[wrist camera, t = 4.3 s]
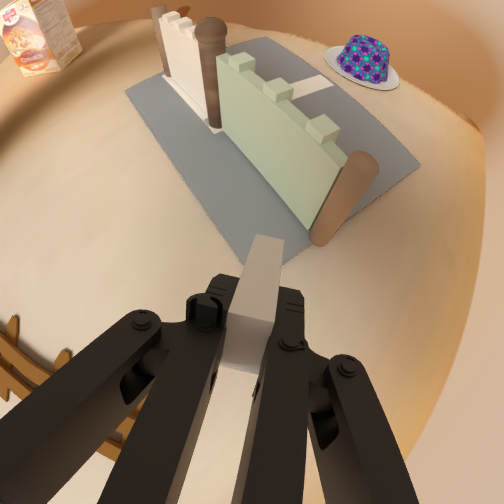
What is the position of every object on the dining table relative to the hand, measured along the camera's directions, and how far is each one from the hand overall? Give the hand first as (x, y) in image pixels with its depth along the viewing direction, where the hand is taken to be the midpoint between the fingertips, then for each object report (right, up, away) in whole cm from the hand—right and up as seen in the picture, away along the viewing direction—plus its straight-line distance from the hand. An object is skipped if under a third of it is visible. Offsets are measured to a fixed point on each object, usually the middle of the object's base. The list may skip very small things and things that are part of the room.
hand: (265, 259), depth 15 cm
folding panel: (+1, +7, +10) cm, 12 cm away
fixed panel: (-8, +20, +15) cm, 26 cm away
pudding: (+16, +28, +18) cm, 37 cm away
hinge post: (-4, +14, +13) cm, 19 cm away
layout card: (0, +16, +14) cm, 21 cm away
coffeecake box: (-41, +38, +20) cm, 60 cm away
